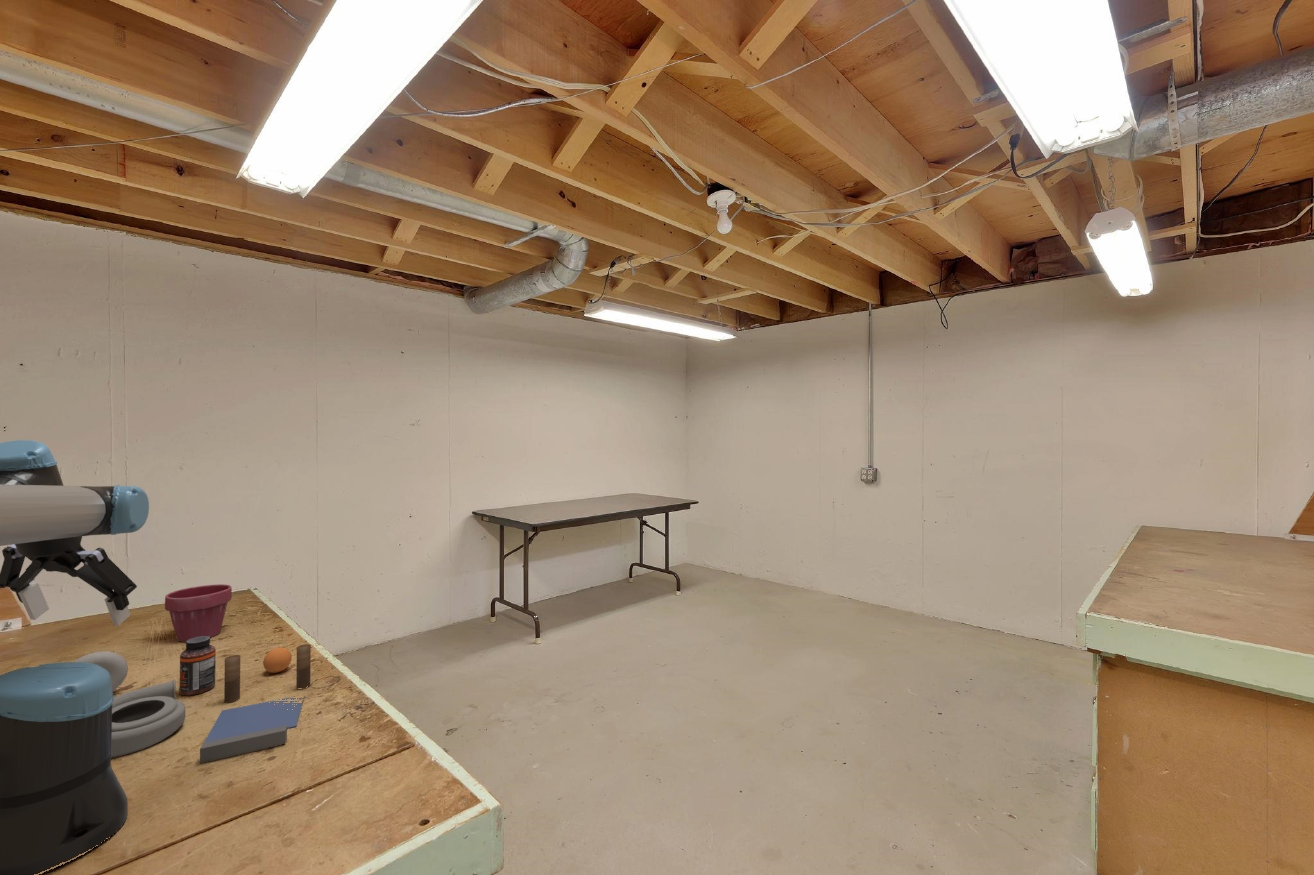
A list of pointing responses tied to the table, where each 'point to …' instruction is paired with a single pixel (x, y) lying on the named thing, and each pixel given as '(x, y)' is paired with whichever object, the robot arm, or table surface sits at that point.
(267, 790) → the table surface
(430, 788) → the table surface
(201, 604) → the plant pot
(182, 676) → the supplement bottle
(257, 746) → the stopper
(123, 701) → the turbocharger housing
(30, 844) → the robot arm
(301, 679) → the post right
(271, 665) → the orange egg
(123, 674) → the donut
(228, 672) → the post left
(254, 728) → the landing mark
